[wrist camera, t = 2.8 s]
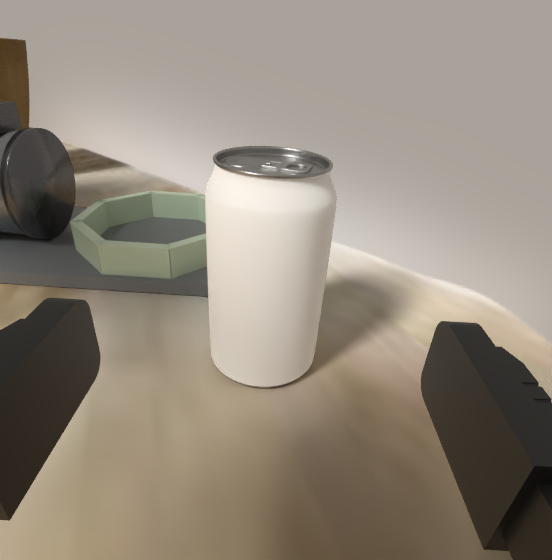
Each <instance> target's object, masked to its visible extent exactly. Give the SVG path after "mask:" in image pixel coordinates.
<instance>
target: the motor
mask: <svg viewBox="0 0 552 560" xmlns="http://www.w3.org/2000/svg"><path fill="white" fill-rule="evenodd" d="M21 128H22V126H21V122H20V118H19V114H18V110H17V107H16V103H15V101H0V232H2V233H17V234H26V235H28V236H30V237H32V238H39V239H52V238H55V237H57V236H59V235H60V234H61V233H62V232H63V231H64V230H65V229H66V227H67V225H68V224H69V221H70V219H71V216H72V213H73V209H74V204H75V177H74V172H73V167H72V164H71V161H70V158H69V155H68V153H67V151H66V149H65V147H64V146H63V144H62V143H61V141H60V140H59V139H58V138H57V137H56V136H55V135H54V134H53V133H51V132H50V131H48V130H46V129H41V128H23V129H21ZM18 129H21V130H19V131H14V130H18Z"/></svg>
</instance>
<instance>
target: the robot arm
mask: <svg viewBox="0 0 552 560" xmlns="http://www.w3.org/2000/svg"><path fill="white" fill-rule="evenodd" d="M99 366H100V351H99V346H98V342H97V337H96V333H95V329H94V324H93V320H92V315H91V311H90V307H89V305H88V303H87V302H86V301H85V300H78V299H60V298H47V299H45V300H44V301H43V302H42V303H41V304H40V305H39V306H38V307H37V308H36V309H35V310H34V311H33V312H31V313H30V314H29V315H28V316H27V317H26V318H25V319H20V320H18V321H16V322H14V323H12V324H11V325H9V326H7V327H5V328H4V329H2V330H0V520H10V519H11V518H12V516H13V514H14V513H15V511H16V509H17V508H18V506H19V504H20V503H21V501H22V499H23V498H24V496H25V494H26V493H27V491H28V490H29V488H30V486H31V485H32V483H33V481H34V480H35V478H36V476H37V475H38V473H39V471H40V470H41V468H42V466H43V465H44V463H45V461H46V460H47V458H48V457H49V455H50V453H51V452H52V450H53V448H54V447H55V445H56V443H57V442H58V440H59V438H60V437H61V435H62V433H63V432H64V430H65V428H66V427H67V425H68V423H69V422H70V420H71V419H72V417H73V415H74V414H75V412H76V410H77V409H78V407H79V405H80V404H81V402H82V400H83V399H84V397H85V395H86V394H87V392H88V390H89V389H90V387H91V386H92V384H93V382H94V381H95V379H96V377H97V374H98V371H99ZM421 390H422V396H423V399H424V402H425V404H426V407H427V409H428V412H429V414H430V417H431V419H432V422H433V424H434V427H435V429H436V432H437V434H438V437H439V439H440V442H441V444H442V447H443V449H444V452H445V454H446V457H447V459H448V462H449V464H450V467H451V469H452V472H453V474H454V477H455V479H456V482H457V484H458V487H459V489H460V492H461V494H462V497H463V499H464V502H465V504H466V507H467V509H468V512H469V514H470V517H471V519H472V522H473V524H474V527H475V529H476V532H477V534H478V537H479V539H480V542H481V544H482V547H483V549H485V550H502V551H509V552H510V554H511V556H512V559H513V560H552V403H551V398H550V397H549V396H548V395H547V393H546V392H545V391H544V389H543V388H542V387H539V386H538V382H537V380H536V379H535V378H534V377H533V375H532V374H531V373H530V371H529V370H528V369H527V368H526V366H525V365H524V364H523V363H522V362H521V361H519V360H518V359H517V358H515V357H514V356H513V355H511V354H510V353H509V352H507V351H506V350H505V349H504V348H502V347H496V346H495V345H494V344H493V342H492V341H491V339H490V338H489V337H488V335H487V334H486V333H485V331H484V330H483V328H482V327H481V326H480V325H479V324H477V323H465V322H448V321H442V322H440V323H439V324H438V325H437V327H436V330H435V333H434V336H433V339H432V342H431V346H430V349H429V352H428V355H427V358H426V361H425V364H424V368H423V371H422V376H421Z"/></svg>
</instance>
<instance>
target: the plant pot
mask: <svg viewBox="0 0 552 560" xmlns="http://www.w3.org/2000/svg"><path fill="white" fill-rule="evenodd" d="M0 101H15V103H16V107H17V110H18V114H19V118H20V122H21V126H22V128H21V129H23V128H29V78H28V64H27V51H26V42H25V40H18V39H6V38H0ZM21 129H18V130H14V131H19V130H21Z"/></svg>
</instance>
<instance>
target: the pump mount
mask: <svg viewBox="0 0 552 560" xmlns="http://www.w3.org/2000/svg"><path fill="white" fill-rule="evenodd" d="M0 283H6V284H22V285H37V286H53V287H68V288H84V289H99V290H115V291H130V292H146V293H161V294H177V295H192V296H208V275H207V246H206V212H205V195H204V194H195V193H180V192H165V191H145V192H140V193H134V194H129V195H123V196H118V197H112V198H107V199H101V200H97V201H96V202H95V203H93V204H92V205H91V206H89V207H74V209H73V213H72V216H71V219H70V221H69V224H68V225H67V227H66V229H65V230H64V231H63V232H62V233H61V234H60V235H59V236H57V237H55V238H52V239H39V238H32V237H30V236H28V235H26V234H17V233H2V232H0Z"/></svg>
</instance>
